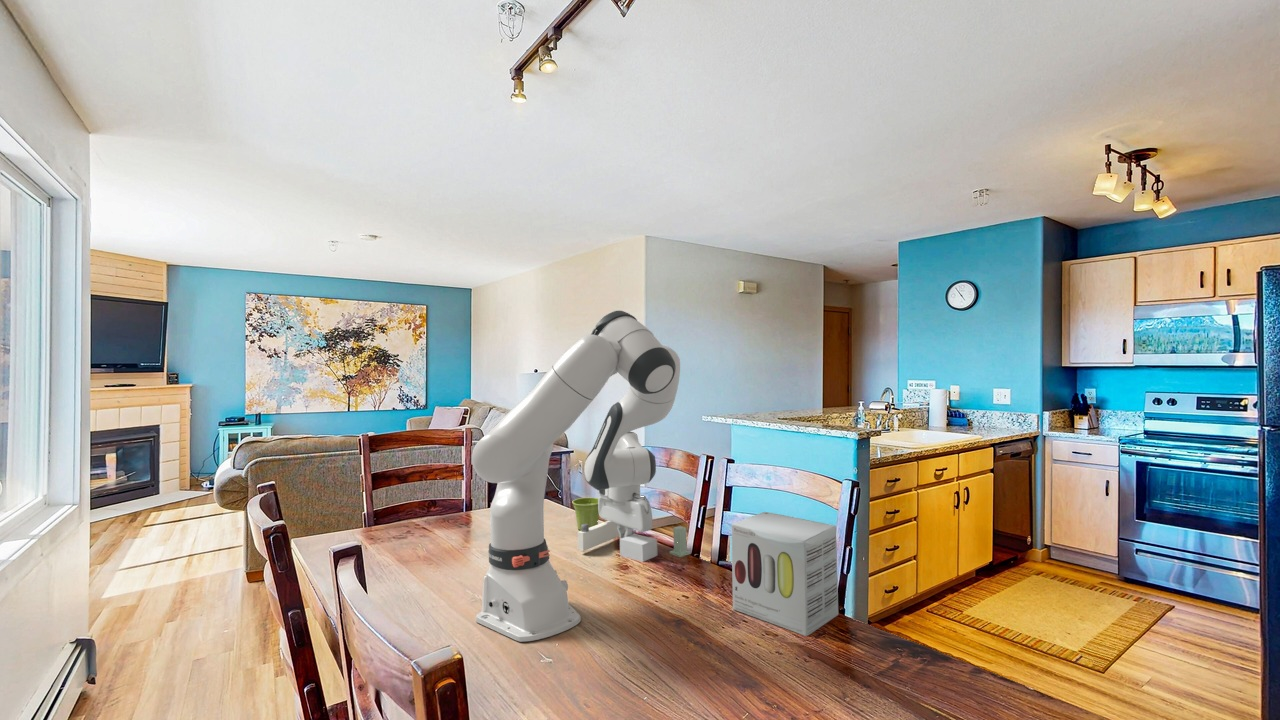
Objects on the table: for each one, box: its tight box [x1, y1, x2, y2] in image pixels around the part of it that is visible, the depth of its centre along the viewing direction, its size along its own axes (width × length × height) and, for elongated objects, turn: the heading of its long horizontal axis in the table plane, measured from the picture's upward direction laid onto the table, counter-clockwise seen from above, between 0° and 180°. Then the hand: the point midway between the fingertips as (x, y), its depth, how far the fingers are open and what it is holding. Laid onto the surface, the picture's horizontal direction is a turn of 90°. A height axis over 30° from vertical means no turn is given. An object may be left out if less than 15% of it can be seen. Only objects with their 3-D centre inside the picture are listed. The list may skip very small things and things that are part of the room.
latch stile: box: [669, 525, 692, 558], centre depth 157 cm, size 6×4×7 cm
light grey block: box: [619, 533, 658, 563], centre depth 155 cm, size 8×6×4 cm
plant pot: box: [571, 497, 600, 531], centre depth 182 cm, size 9×9×9 cm
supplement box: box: [731, 511, 839, 637], centre depth 118 cm, size 17×13×18 cm
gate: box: [576, 520, 620, 552], centre depth 164 cm, size 18×2×6 cm, turn 144°
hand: (625, 540), depth 160 cm, fingers closed
